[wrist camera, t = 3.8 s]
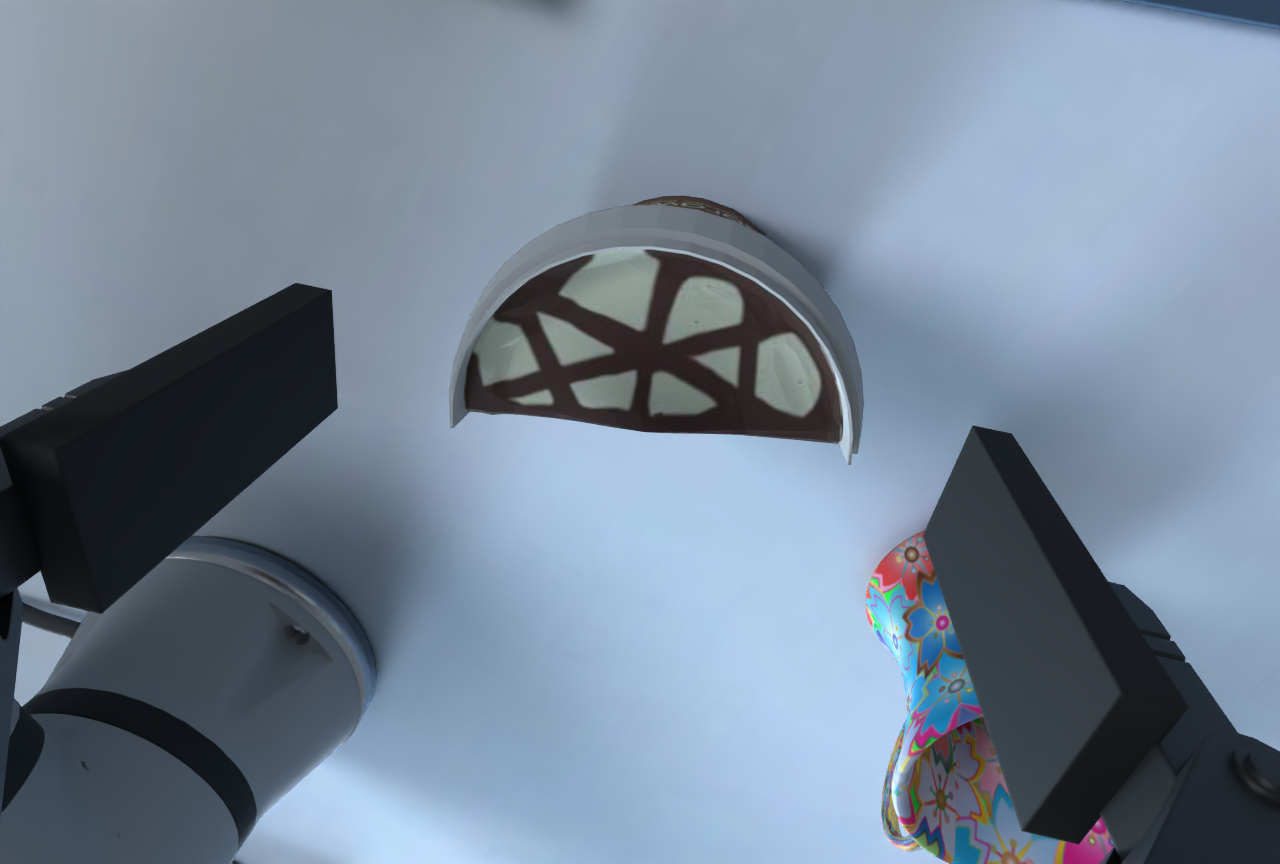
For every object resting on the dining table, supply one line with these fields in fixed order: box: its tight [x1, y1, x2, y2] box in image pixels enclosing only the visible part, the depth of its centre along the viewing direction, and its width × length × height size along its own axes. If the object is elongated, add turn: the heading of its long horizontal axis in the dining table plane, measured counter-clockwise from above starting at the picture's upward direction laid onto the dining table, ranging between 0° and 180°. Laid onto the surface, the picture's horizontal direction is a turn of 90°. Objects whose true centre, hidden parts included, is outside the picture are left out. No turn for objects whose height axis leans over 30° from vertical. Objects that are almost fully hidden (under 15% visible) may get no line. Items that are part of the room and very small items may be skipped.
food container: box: [449, 196, 864, 465], centre depth 23 cm, size 12×6×10 cm, turn 89°
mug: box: [866, 531, 1114, 864], centre depth 29 cm, size 12×9×11 cm
